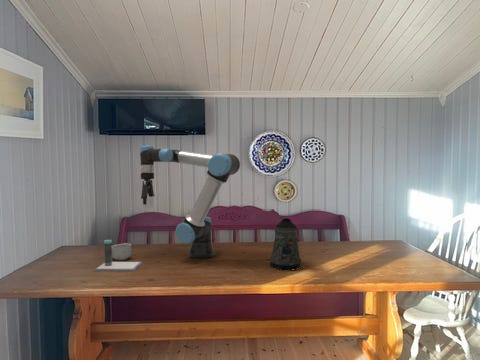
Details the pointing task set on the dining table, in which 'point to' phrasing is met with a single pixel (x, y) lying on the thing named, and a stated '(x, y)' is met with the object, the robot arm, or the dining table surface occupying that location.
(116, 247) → the teacup
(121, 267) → the small whiteboard
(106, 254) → the marker
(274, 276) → the dining table surface
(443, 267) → the dining table surface
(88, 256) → the dining table surface
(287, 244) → the beer stein
